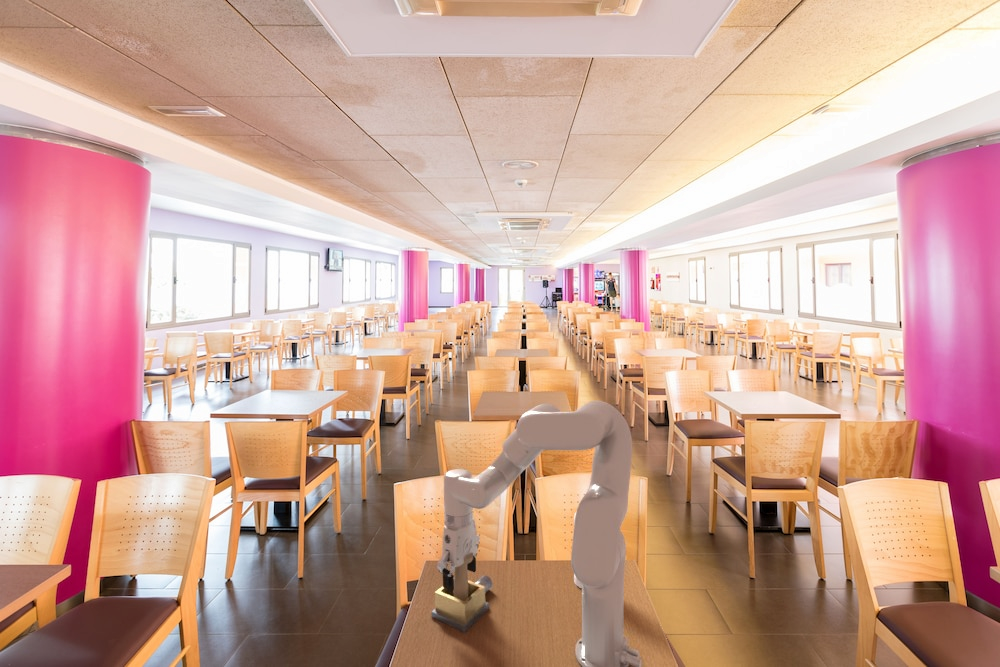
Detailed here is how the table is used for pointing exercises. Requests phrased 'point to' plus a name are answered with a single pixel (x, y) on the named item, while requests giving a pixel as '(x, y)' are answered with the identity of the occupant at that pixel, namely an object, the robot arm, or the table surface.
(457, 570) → the handle
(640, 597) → the table surface
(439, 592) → the socket
